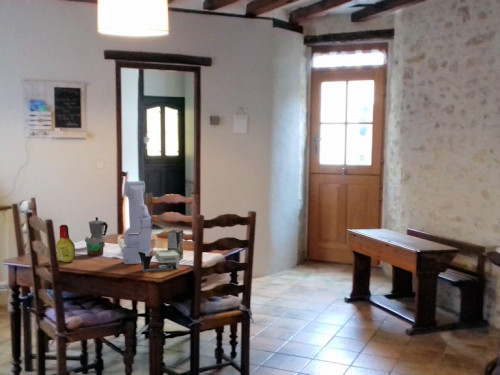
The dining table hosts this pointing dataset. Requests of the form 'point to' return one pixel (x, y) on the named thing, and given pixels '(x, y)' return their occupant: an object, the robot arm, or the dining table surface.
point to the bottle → (65, 246)
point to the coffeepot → (98, 229)
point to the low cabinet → (168, 257)
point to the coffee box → (176, 242)
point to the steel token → (163, 266)
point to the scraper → (159, 268)
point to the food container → (94, 246)
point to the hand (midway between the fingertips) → (145, 267)
